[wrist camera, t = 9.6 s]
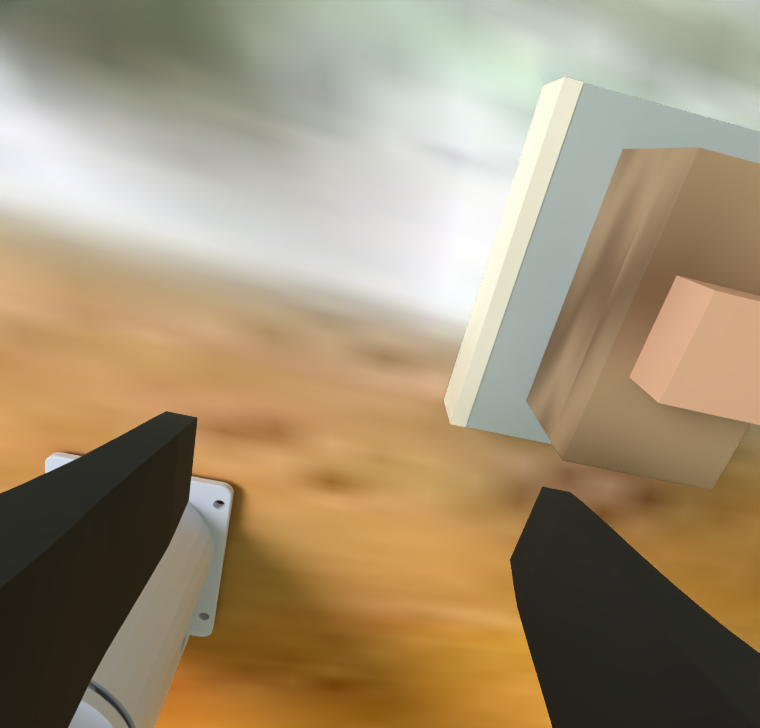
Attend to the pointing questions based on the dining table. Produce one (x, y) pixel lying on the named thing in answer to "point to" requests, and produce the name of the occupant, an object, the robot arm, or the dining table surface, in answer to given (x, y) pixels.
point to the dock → (557, 238)
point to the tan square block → (704, 351)
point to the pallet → (647, 313)
